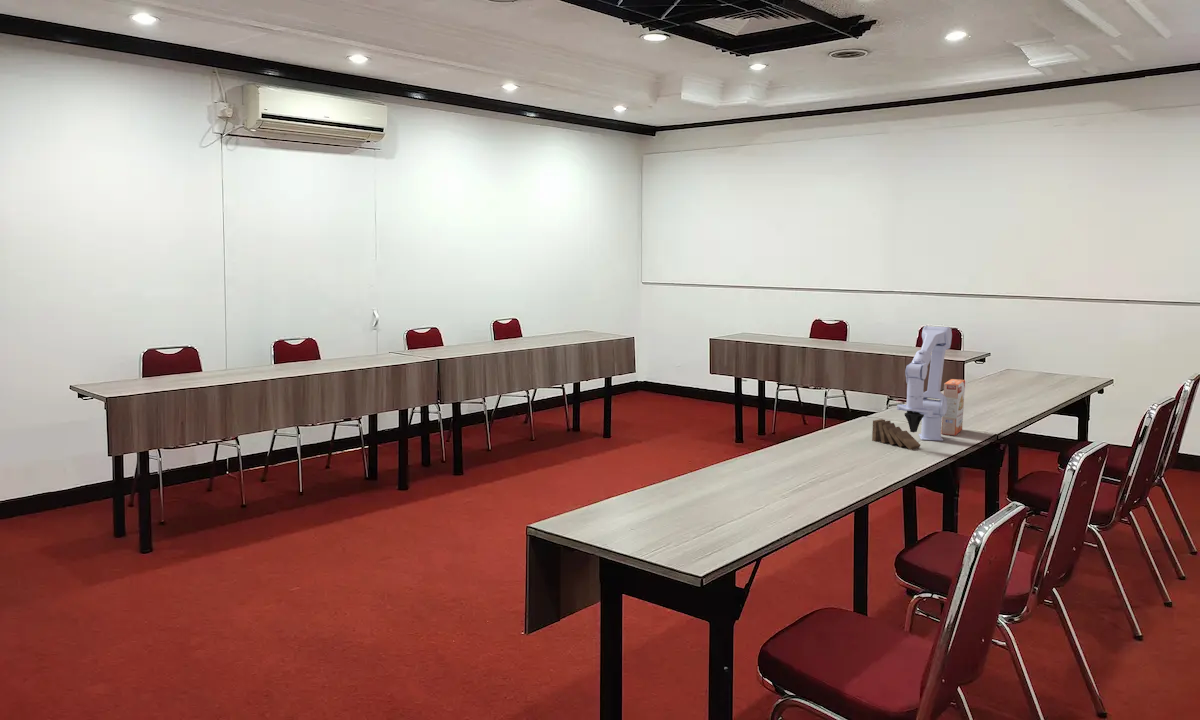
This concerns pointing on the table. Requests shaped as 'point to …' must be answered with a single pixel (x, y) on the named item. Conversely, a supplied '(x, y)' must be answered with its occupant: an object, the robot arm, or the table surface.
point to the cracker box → (953, 407)
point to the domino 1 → (876, 430)
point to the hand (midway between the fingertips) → (913, 431)
